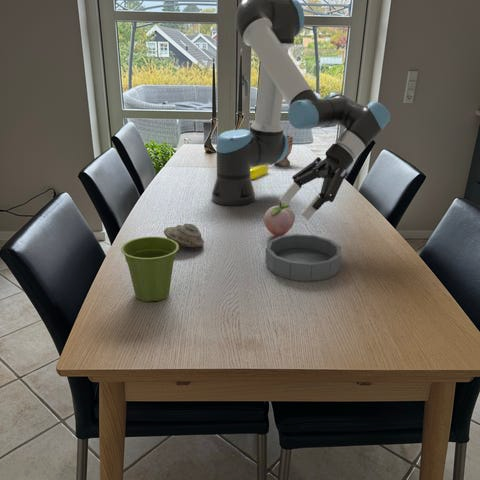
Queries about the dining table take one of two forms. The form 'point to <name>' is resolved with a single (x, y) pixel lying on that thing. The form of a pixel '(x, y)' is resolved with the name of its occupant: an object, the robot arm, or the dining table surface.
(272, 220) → the decorative fruit
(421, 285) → the dining table surface
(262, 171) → the element tile
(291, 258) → the bowl
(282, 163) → the mortar and pestle
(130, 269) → the plant pot
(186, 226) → the fossilized seashell
